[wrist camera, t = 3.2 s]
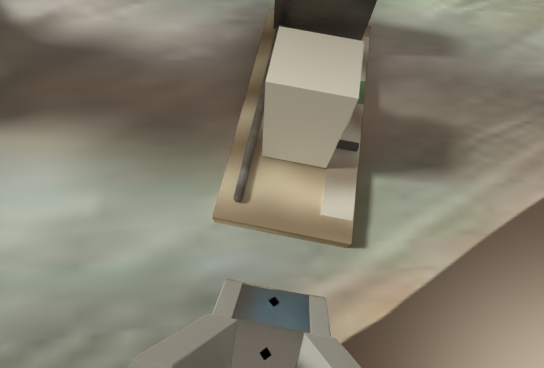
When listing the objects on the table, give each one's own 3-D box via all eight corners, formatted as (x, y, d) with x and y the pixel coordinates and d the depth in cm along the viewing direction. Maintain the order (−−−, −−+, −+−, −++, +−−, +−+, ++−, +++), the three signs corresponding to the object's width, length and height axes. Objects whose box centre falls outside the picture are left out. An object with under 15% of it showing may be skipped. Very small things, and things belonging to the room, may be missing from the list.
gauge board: (346, 248, 28) (354, 242, 26) (214, 222, 29) (211, 214, 27) (366, 37, 39) (372, 20, 37) (268, 19, 39) (269, 2, 37)
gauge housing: (354, 173, 29) (399, 106, 20) (261, 155, 30) (265, 81, 20) (359, 111, 32) (402, 27, 23) (275, 95, 32) (284, 6, 23)
